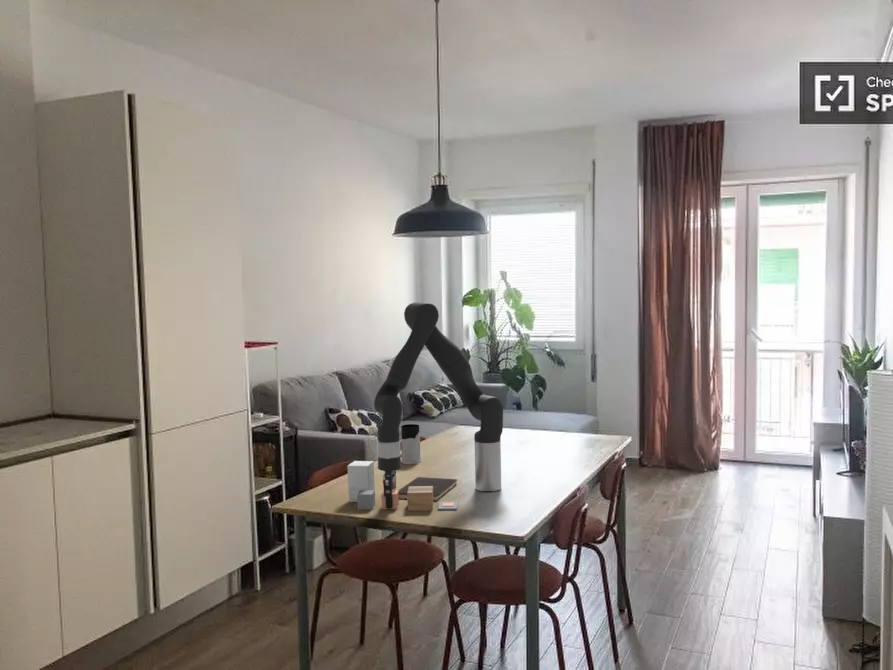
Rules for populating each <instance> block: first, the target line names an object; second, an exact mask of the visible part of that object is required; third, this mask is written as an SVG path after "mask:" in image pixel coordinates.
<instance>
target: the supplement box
mask: <svg viewBox="0 0 893 670" xmlns="http://www.w3.org/2000/svg"><path fill="white" fill-rule="evenodd" d="M374 462H375V461H373V460H371V461H370V460H353V462H350V463H349V464H348V465H347V486H348V488H347V489H348V502H349V503H357V494H358V492H359V491H360V490H375V491H376V485H375V463H374Z"/></svg>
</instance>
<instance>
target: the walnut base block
mask: <svg viewBox="0 0 893 670" xmlns="http://www.w3.org/2000/svg"><path fill="white" fill-rule="evenodd" d="M407 497H408V499H407V511H408V510H420V511H433V509H434V501H433V486H409V488H408V492H407Z"/></svg>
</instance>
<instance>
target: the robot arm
mask: <svg viewBox="0 0 893 670" xmlns="http://www.w3.org/2000/svg"><path fill="white" fill-rule="evenodd" d="M439 314H440V313H439V310H438V308H437V306H436V305H434V304H433V303H431V302H426V301H423V302H422V301H421V302H420V301H418V302H412V303H409V304H408V305H407V306H406V307H405V308H404V313H403V316H404V317H403V318H404V321H405V323H406V325H407V326H408V327H409V328H410V329H411V331H410V335H409V336H408V338H407V339H406V342H405V343H404V345H403V346H402V347H401V349H400V350H399V351H398V353H397V354H396V356H395V358H394V359H393V361H392V364H391V366H390V368H389V372H388V373H387V376H386V378H385V381H384V382H383V383H382V385H381V387H380V389H379V390H378V392H377V393H376V395H375V397H374V400H373V401H374V402H373V406H374V410H375V411H376V412H377V413H378V414H379V415H382V420H381V423H380V424H378V427H377V468H378V470H379V471H383V472H384V474H383V475H382V483H383V485H382V486H383V490H384V497H386V508H387V509H386V510H392V509H391V508H392V507H393V490H397V489H396V488H397V471H399V470H400V469H401V467H402V463H401V459H402V457H401V455H402V453H401V440H400V439H399V438H400V425H401V420H402V416H403V405H402V401H401V399H400V398H399V397H398V394H399V393H400V392H401V391H403V390H405V389H406V387H407V386H408V383H409V381H410V378H411V376H412V373H413V370H414V368H415V365H416V363H417V362H418V358H419V356H420V355H421V354H422V353H421V352H422V350H423V348H424V347H425V348H426V349H427V350H428V352H429V353H430V355H431V356H432V358H433V359H434V360H435V362H436V364H437V366H438V367H439V368H440V370H441V371H442V372H443V373H444V375H445V377H446V378H447V380H449V382H450V383H451V385H452V387H454V389H455V391H457V393H458V394H459V395H460V397H461V399H462V400H463V403H464V404H465V406H466V407H467V408H466V409H468V411H469V413H470V414H471V417H473V418H474V419H475V420H478V421H480V428H479V430H478V431H475V433H474V435H473V437H474V439H473V440H474V443H473V444H474V480H475V481H474V482H475V484H474V485H475V486H474V487H475V488H476V489H477V490H476V489H475V490H476V491H478V490H480V492H484V491H492V492H497V490H498V491H500V490H502V456H501V455H502V450H501V447H502V445H501V437H502V434H503V431H504V430H503V429H504V428H503V426H504V408H503V404H502V401H501V400H500V399H499V398H498V397H496V396H492V395H487V394H485V393H484V392H483V391H482V389H481V388H480V387H479V386H478V384H477V383H476V382H475V380H474V376H473V372H472V366H471V364H470V361H469V360H468V358H466V356H465V354H464V353H463V351H462V350H461V349H460V348H459V347H458V345H457V344H455V343H454V342H453V341H451V340H450V339H449V338H448V337H447V336H446V335H444V334H443V333H442V332H441V330H440V329H439V328H438V327H437V324H438V322H439V318H440V317H439V316H440V315H439ZM387 490H389V491H390V493H387Z"/></svg>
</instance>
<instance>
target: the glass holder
mask: <svg viewBox="0 0 893 670" xmlns="http://www.w3.org/2000/svg"><path fill="white" fill-rule="evenodd" d="M400 429H401V432H400V433H401V437H399V440H400V450H401V464H406V465H407V464H408V465H414V464H415V465H416V464H420V463H422V461H423V460H422V458H421V437H420V436H421V431H420V424H415V423H410V424H409V423H408V424H403V425H401V427H400Z"/></svg>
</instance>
